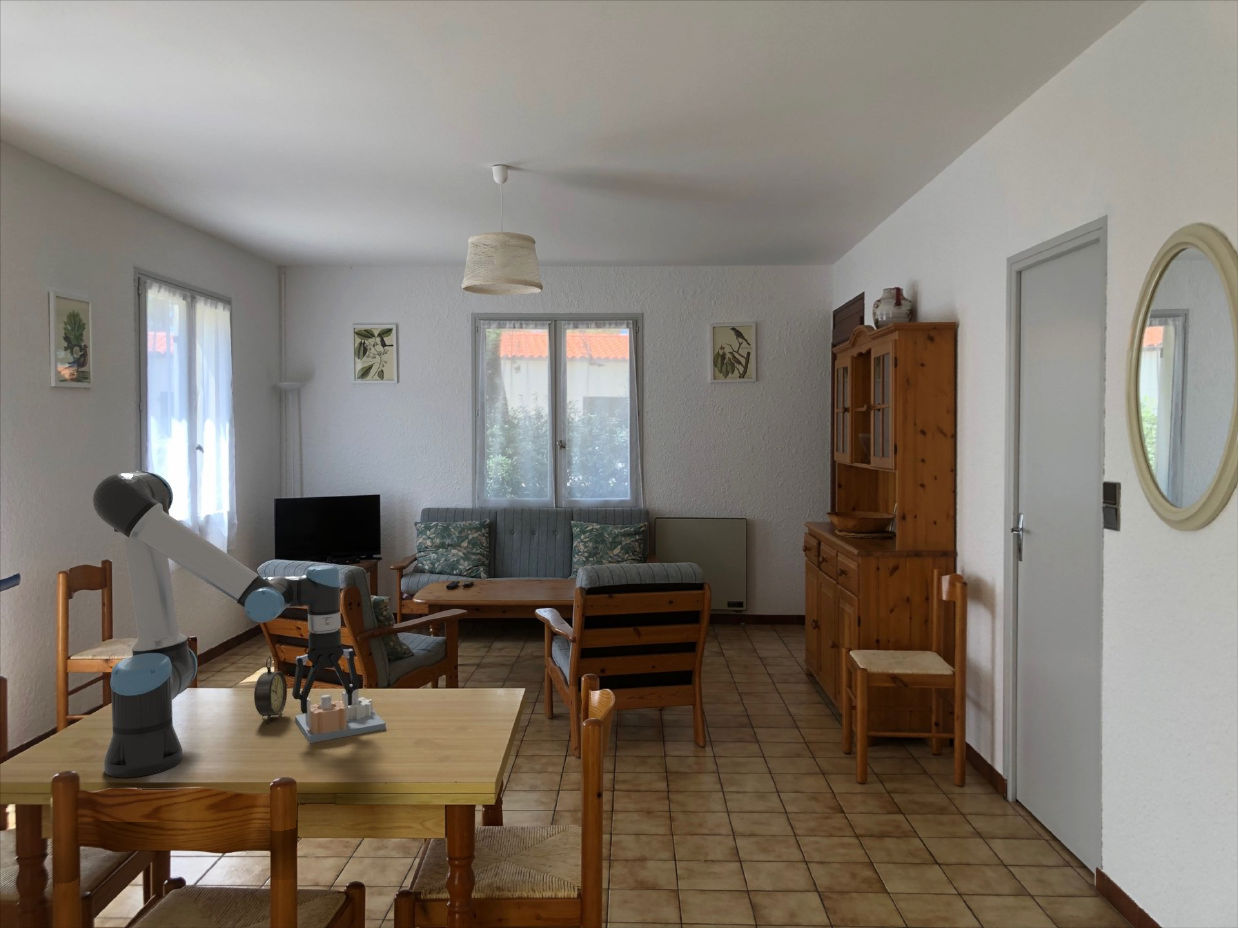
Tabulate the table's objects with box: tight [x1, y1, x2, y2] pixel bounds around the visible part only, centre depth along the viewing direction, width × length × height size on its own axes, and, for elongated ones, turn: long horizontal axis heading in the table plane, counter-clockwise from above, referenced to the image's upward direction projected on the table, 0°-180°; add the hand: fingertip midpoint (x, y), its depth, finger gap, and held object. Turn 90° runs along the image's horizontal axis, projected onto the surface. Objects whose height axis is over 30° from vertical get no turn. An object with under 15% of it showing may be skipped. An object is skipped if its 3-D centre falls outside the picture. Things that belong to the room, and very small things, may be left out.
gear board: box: [294, 683, 387, 744], centre depth 214 cm, size 18×18×9 cm
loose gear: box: [309, 700, 347, 734], centre depth 209 cm, size 8×8×5 cm
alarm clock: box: [253, 655, 288, 725], centre depth 220 cm, size 11×5×16 cm, turn 0°
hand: (327, 722), depth 209 cm, fingers closed on loose gear, 8 cm apart
